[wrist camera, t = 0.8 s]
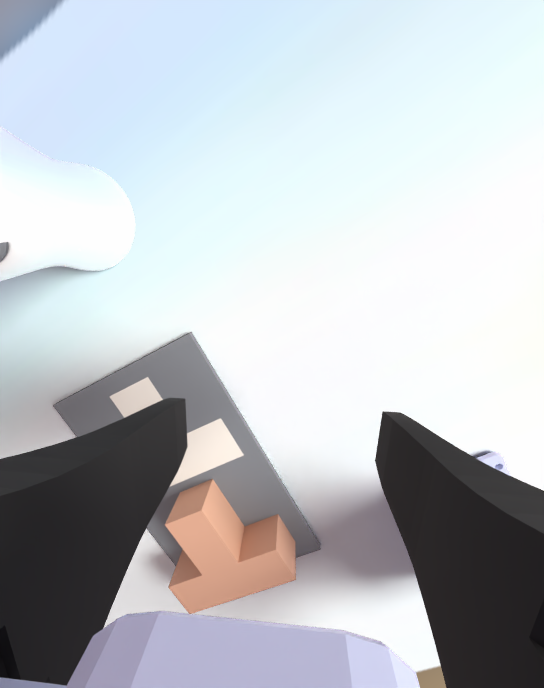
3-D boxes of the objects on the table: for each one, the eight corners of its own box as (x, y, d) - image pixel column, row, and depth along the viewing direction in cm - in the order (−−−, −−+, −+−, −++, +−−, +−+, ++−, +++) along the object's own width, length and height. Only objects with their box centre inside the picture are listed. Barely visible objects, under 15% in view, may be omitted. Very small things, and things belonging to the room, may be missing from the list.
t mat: (320, 544, 25) (320, 549, 24) (196, 586, 27) (195, 591, 27) (191, 332, 21) (189, 333, 20) (56, 402, 23) (52, 405, 22)
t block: (295, 541, 24) (295, 579, 22) (200, 574, 26) (189, 614, 23) (246, 464, 23) (240, 494, 20) (149, 505, 24) (129, 538, 22)
